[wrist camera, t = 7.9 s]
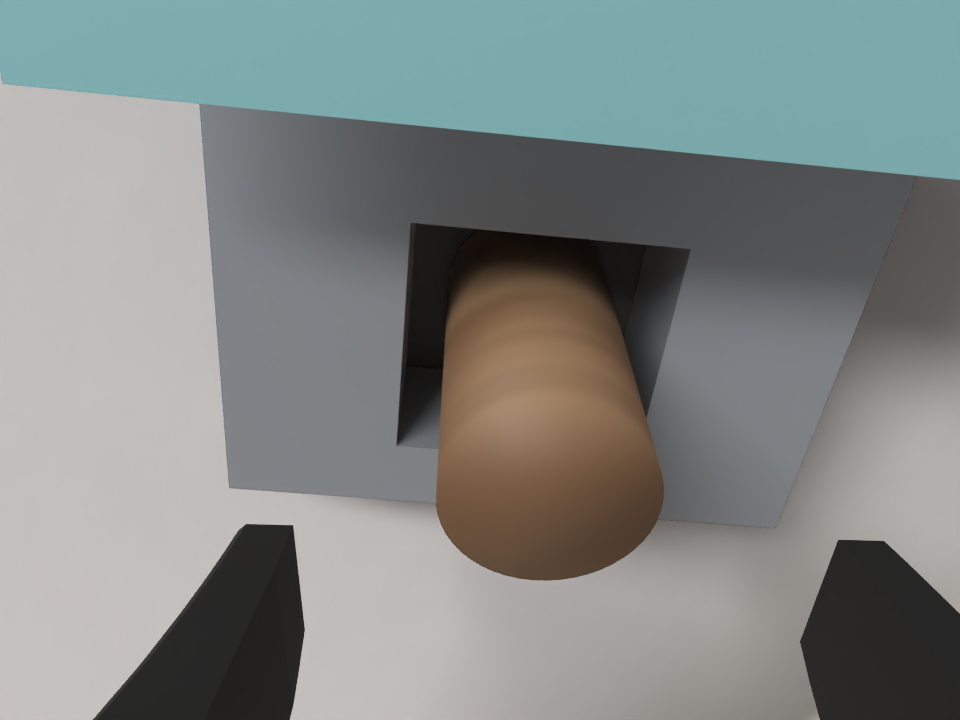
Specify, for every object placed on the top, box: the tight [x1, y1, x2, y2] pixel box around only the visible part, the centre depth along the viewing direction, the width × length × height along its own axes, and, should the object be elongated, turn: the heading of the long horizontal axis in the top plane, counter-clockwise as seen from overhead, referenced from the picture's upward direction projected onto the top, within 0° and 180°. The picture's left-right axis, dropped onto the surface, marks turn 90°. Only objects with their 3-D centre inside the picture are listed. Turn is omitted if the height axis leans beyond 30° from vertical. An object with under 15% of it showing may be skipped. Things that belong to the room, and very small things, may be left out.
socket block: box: [200, 104, 917, 528], centre depth 16 cm, size 12×12×3 cm
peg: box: [436, 229, 664, 580], centre depth 16 cm, size 4×4×7 cm
